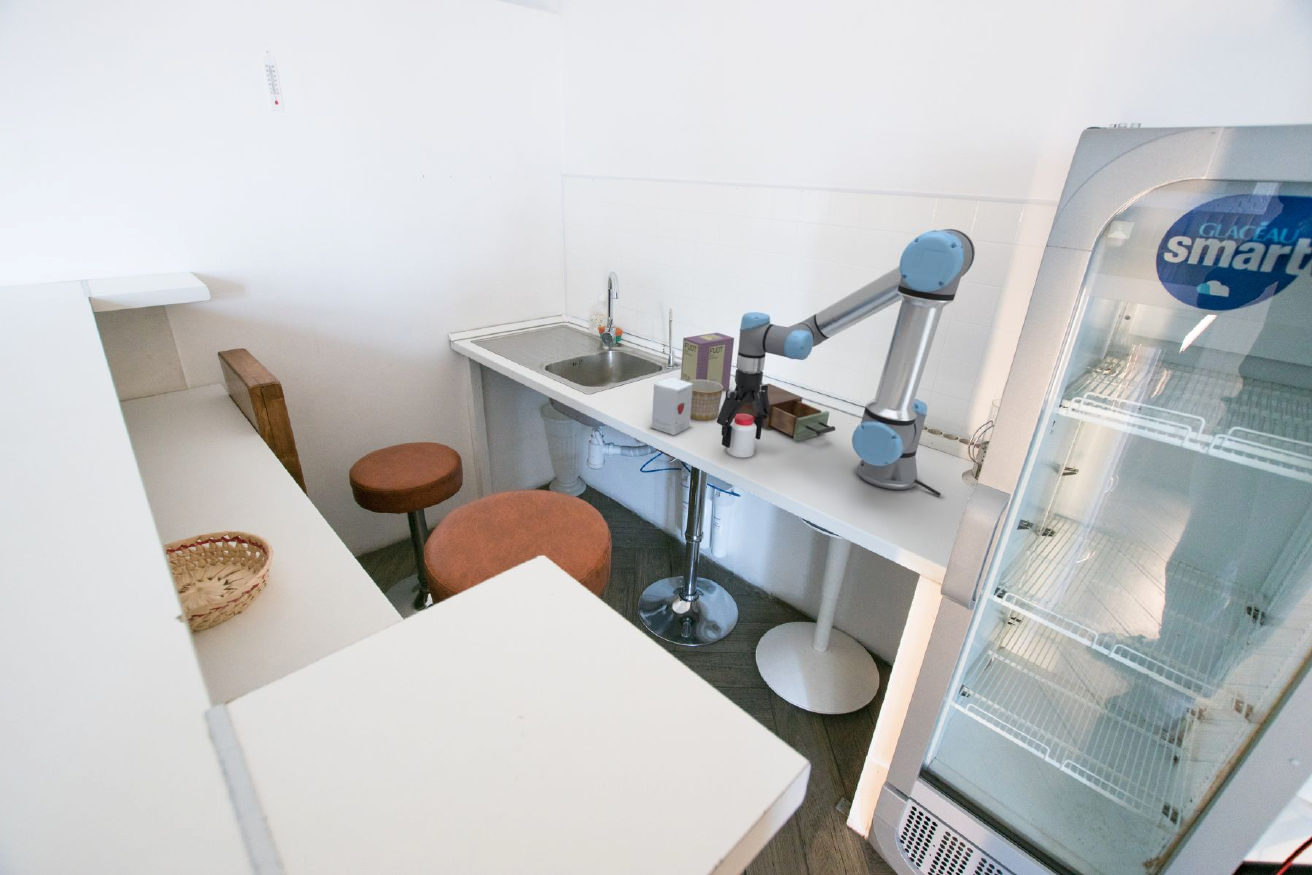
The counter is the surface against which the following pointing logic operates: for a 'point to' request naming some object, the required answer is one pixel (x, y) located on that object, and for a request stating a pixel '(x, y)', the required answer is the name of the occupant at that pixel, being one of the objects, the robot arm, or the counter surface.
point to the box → (707, 358)
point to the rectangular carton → (672, 405)
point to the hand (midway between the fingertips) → (741, 441)
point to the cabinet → (770, 402)
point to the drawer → (800, 420)
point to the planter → (705, 399)
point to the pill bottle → (742, 436)
